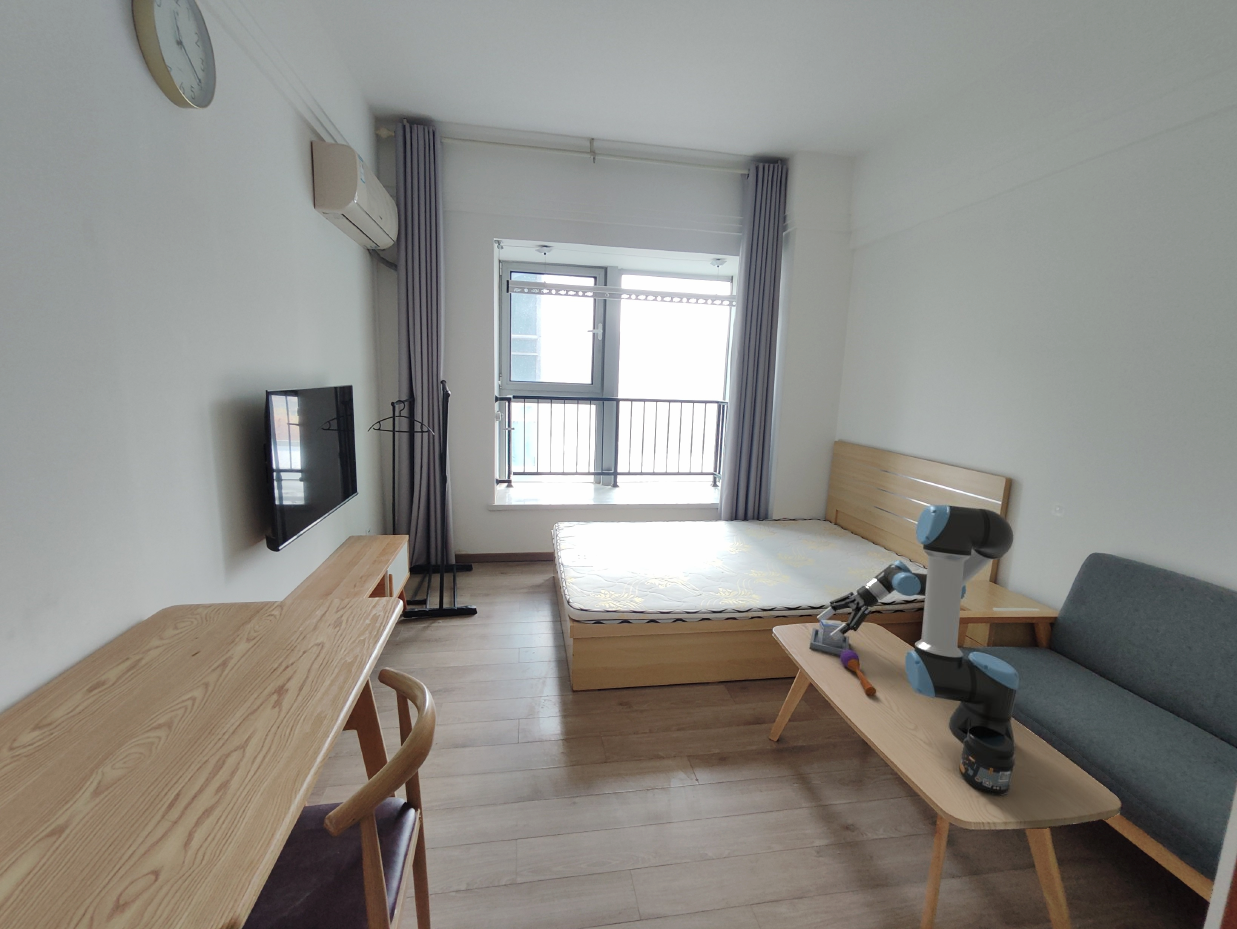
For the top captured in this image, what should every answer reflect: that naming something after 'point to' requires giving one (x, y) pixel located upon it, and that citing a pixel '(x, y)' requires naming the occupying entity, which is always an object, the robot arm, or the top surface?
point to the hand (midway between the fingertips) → (825, 628)
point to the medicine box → (826, 629)
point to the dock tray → (825, 648)
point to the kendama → (856, 669)
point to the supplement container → (987, 760)
